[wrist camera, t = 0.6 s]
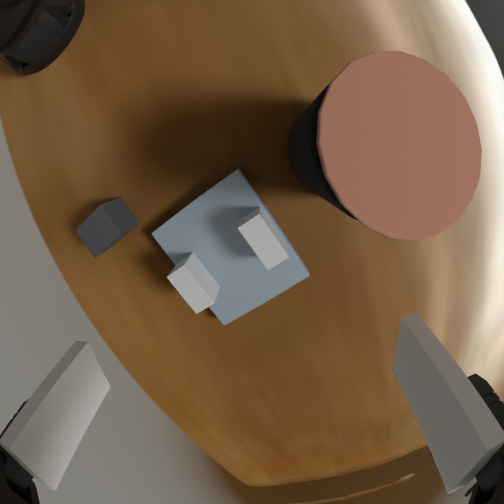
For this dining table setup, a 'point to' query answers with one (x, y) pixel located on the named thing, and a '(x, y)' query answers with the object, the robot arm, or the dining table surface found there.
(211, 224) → the board
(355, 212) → the coffee jar
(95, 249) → the dark gray block
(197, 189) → the dining table surface
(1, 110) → the dining table surface
